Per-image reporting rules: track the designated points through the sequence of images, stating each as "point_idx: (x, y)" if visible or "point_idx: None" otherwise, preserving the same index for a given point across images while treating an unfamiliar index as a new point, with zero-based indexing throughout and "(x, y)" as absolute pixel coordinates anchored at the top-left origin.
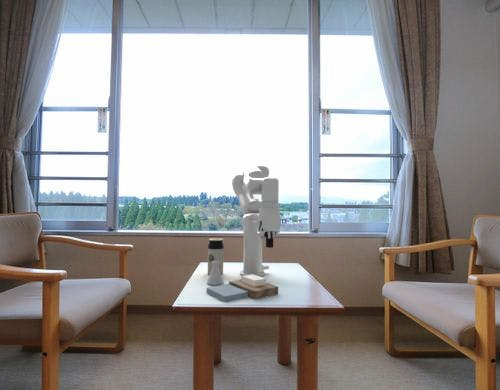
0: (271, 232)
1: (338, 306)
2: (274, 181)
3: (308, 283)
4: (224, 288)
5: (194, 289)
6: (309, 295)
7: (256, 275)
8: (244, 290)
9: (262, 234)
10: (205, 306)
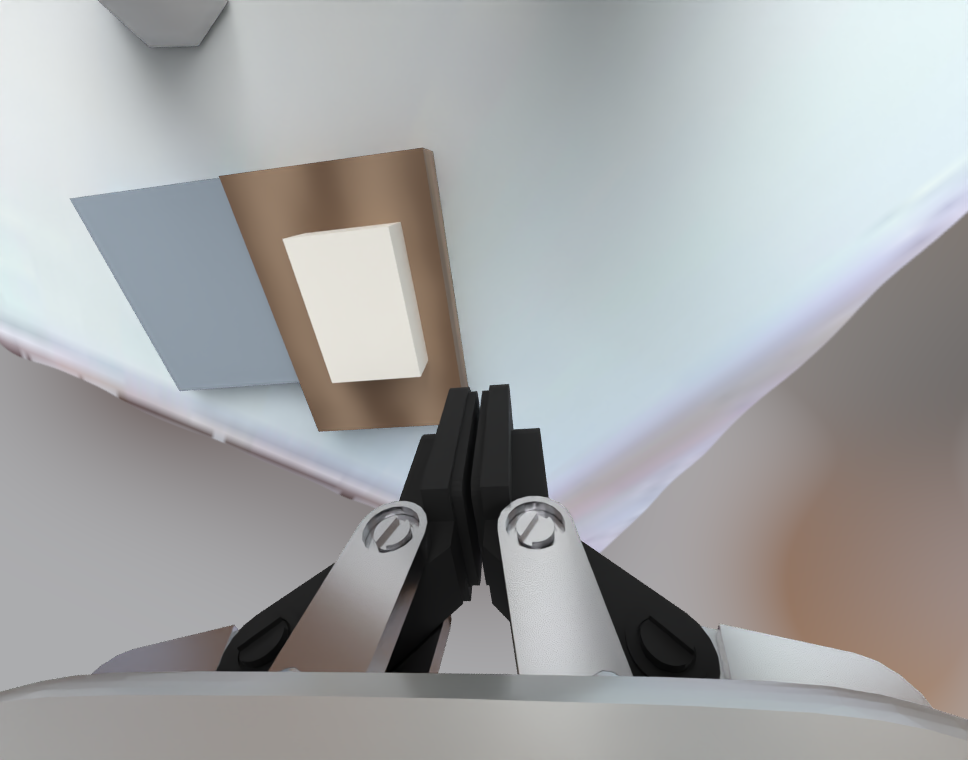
0: (597, 669)
1: None
2: None
3: (784, 325)
4: (186, 270)
5: (3, 69)
6: (584, 473)
7: (399, 277)
8: None
9: (215, 654)
10: (114, 389)
